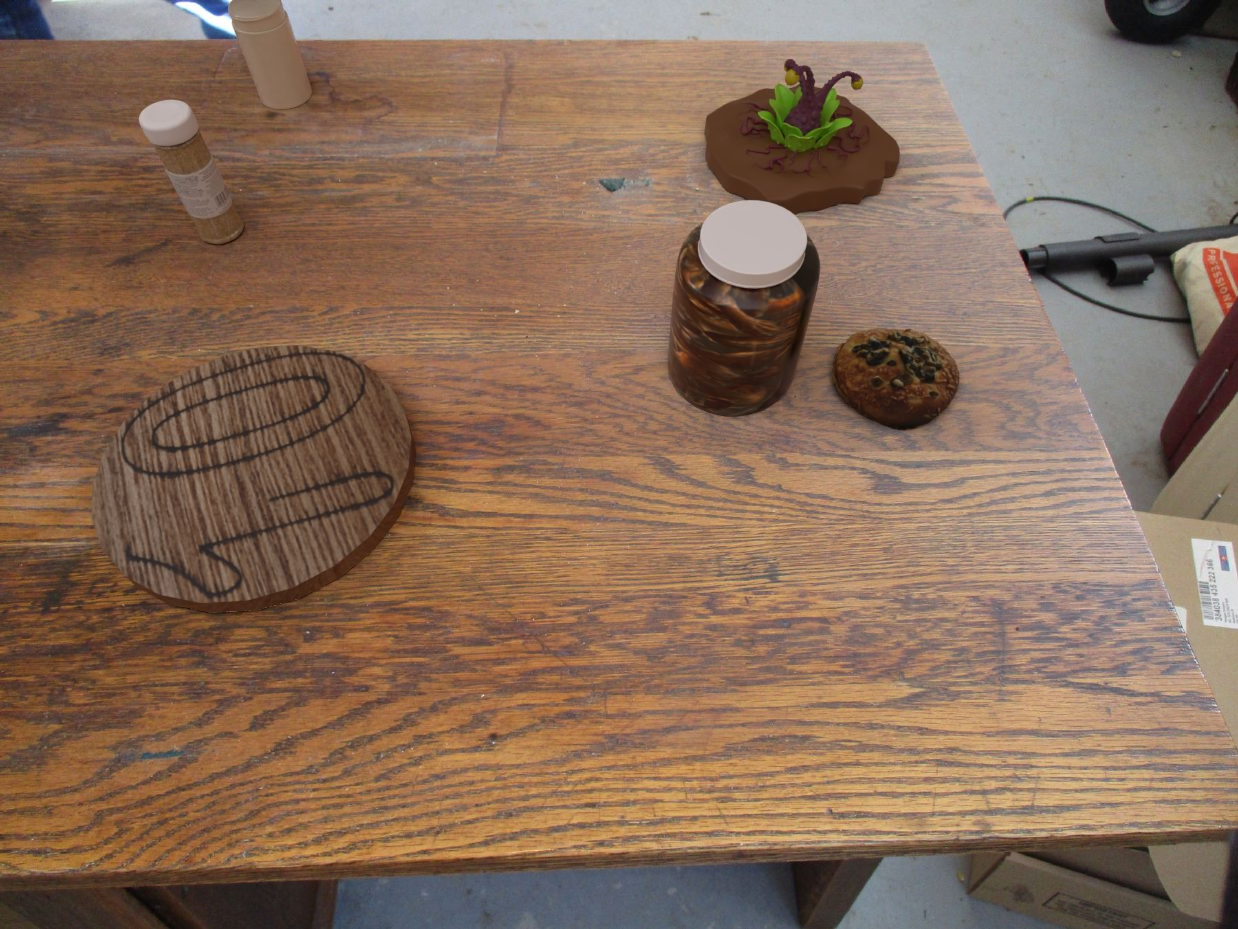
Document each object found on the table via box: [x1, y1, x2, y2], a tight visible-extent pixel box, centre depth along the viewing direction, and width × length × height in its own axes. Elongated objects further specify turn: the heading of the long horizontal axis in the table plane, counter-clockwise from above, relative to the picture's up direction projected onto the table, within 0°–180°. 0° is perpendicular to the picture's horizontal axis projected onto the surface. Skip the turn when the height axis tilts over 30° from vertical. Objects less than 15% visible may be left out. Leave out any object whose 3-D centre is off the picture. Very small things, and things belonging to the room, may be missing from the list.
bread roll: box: [831, 327, 961, 431], centre depth 73 cm, size 11×11×5 cm
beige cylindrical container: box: [227, 0, 313, 110], centre depth 94 cm, size 6×6×11 cm
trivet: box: [91, 344, 417, 613], centre depth 68 cm, size 25×25×2 cm
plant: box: [704, 58, 901, 215], centre depth 88 cm, size 20×20×11 cm
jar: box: [667, 199, 821, 417], centre depth 69 cm, size 12×12×15 cm
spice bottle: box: [138, 99, 245, 245], centre depth 80 cm, size 5×5×14 cm
